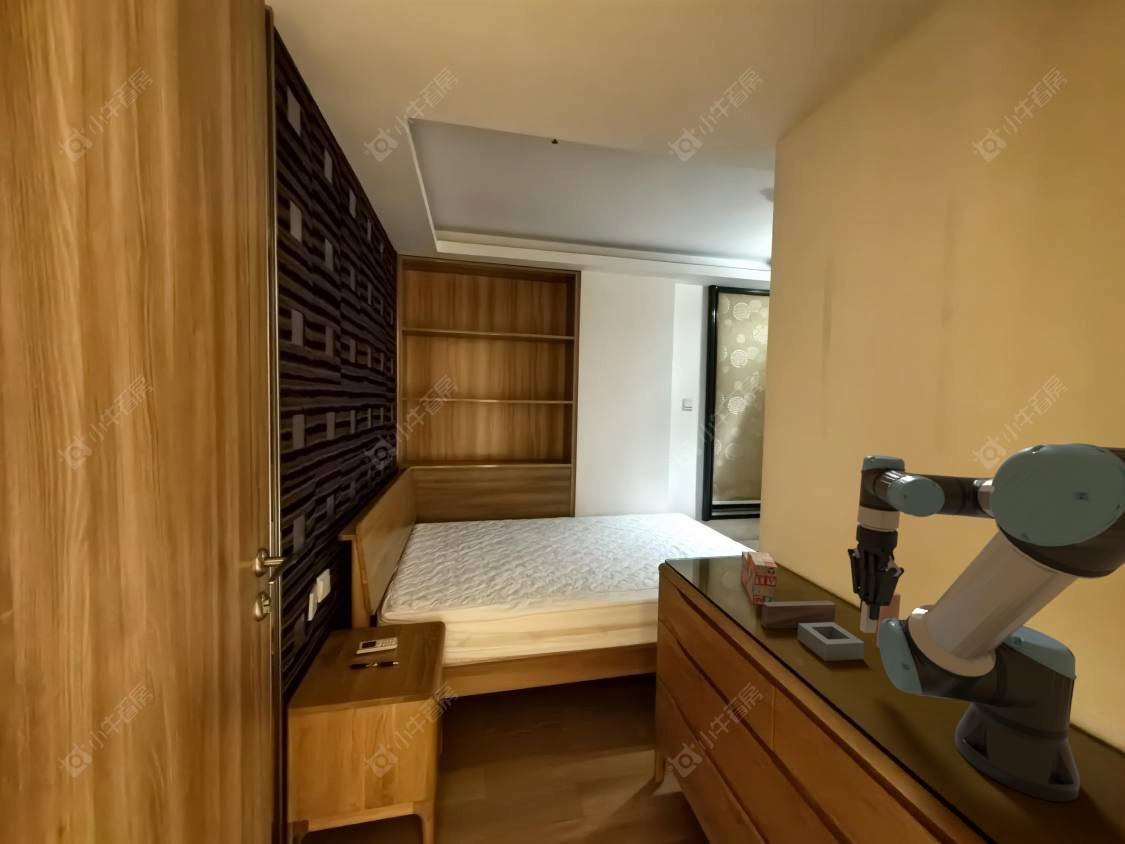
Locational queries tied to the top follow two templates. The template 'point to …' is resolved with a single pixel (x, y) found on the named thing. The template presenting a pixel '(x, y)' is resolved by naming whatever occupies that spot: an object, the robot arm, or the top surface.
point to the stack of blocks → (759, 576)
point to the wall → (796, 613)
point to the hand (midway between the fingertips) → (867, 631)
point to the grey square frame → (830, 641)
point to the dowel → (889, 612)
